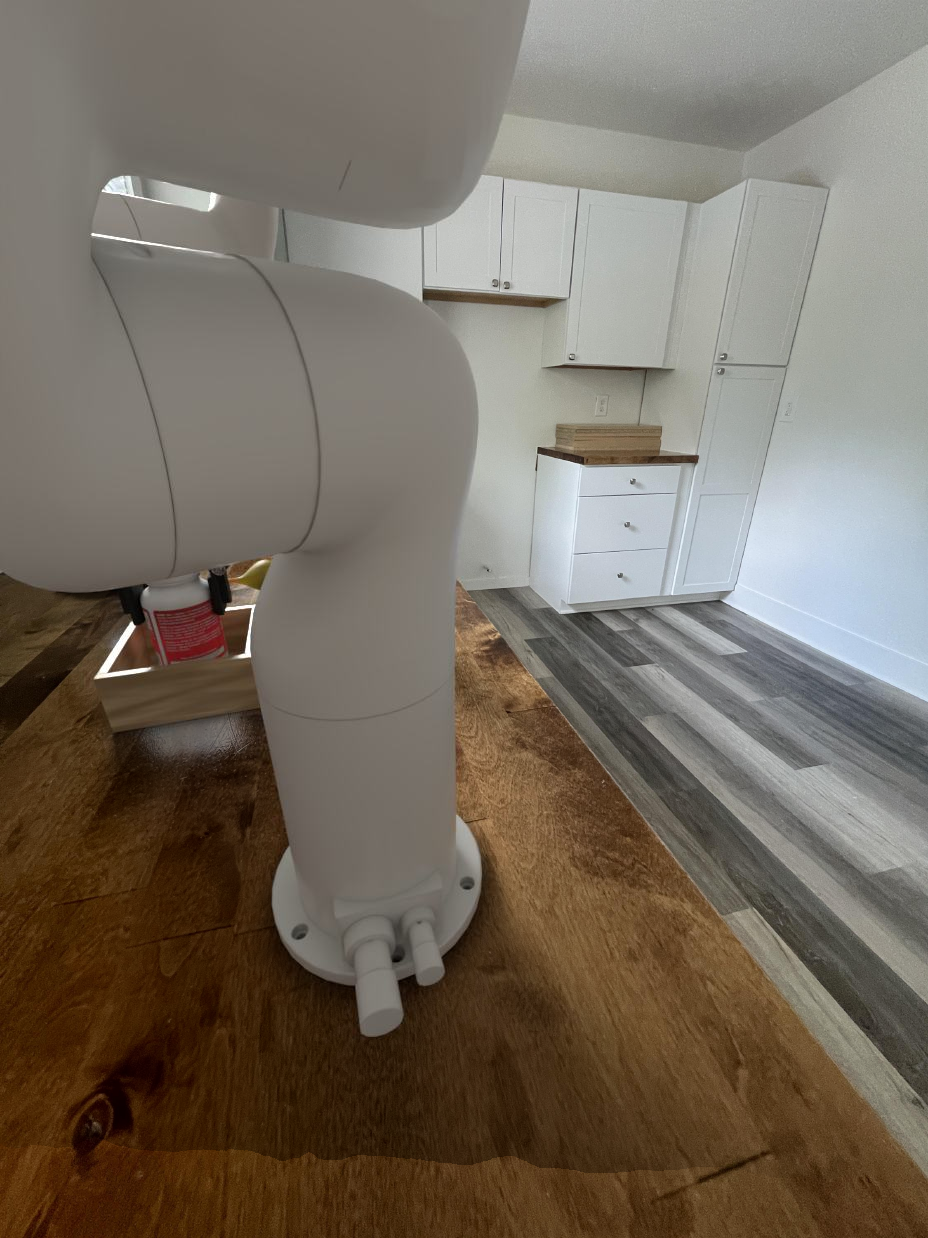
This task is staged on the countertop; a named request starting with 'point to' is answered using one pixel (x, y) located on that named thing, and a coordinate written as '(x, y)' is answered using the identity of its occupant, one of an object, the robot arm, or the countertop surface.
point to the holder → (177, 679)
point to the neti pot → (254, 575)
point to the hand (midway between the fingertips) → (182, 613)
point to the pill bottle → (183, 620)
